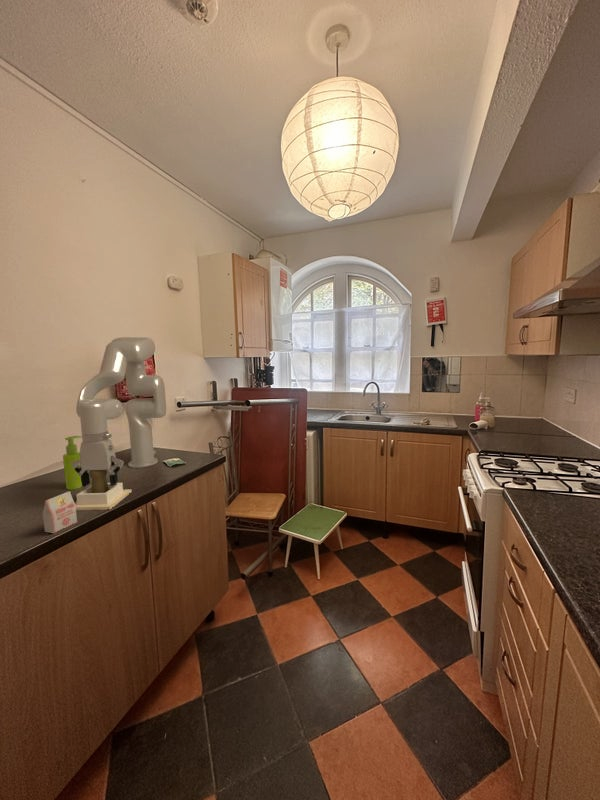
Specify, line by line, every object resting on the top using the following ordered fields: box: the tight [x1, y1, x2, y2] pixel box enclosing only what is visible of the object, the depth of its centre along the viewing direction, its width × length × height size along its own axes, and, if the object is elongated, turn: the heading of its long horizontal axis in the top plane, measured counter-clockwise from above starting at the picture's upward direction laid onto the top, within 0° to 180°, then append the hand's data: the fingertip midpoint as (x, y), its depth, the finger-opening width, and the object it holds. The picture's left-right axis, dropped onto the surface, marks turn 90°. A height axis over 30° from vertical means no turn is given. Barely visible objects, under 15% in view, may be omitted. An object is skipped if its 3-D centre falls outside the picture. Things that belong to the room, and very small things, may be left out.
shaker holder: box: [74, 482, 132, 511], centre depth 110 cm, size 14×14×4 cm
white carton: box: [42, 490, 78, 533], centre depth 92 cm, size 4×7×10 cm, turn 162°
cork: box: [89, 470, 109, 493], centre depth 110 cm, size 6×6×11 cm
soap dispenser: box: [62, 435, 82, 490], centre depth 123 cm, size 6×7×20 cm
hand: (100, 484), depth 110 cm, fingers open, 9 cm apart
